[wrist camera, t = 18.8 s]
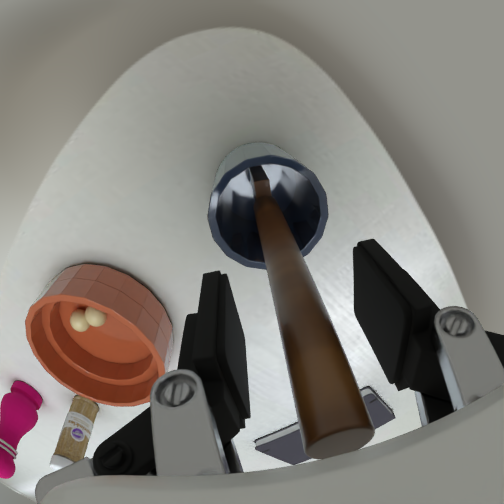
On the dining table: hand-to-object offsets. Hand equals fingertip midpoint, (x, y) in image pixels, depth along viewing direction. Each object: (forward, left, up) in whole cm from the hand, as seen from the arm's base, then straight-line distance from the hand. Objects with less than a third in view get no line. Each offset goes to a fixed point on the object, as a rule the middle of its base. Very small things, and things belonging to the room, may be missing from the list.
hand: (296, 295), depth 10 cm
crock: (0, 0, -16) cm, 16 cm away
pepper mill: (+24, -45, -16) cm, 54 cm away
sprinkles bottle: (+26, -32, -16) cm, 44 cm away
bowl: (+11, -19, -16) cm, 27 cm away
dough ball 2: (+9, -19, -14) cm, 25 cm away
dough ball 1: (+8, -21, -13) cm, 26 cm away
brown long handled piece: (0, 0, -15) cm, 15 cm away
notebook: (+41, +4, -16) cm, 44 cm away
